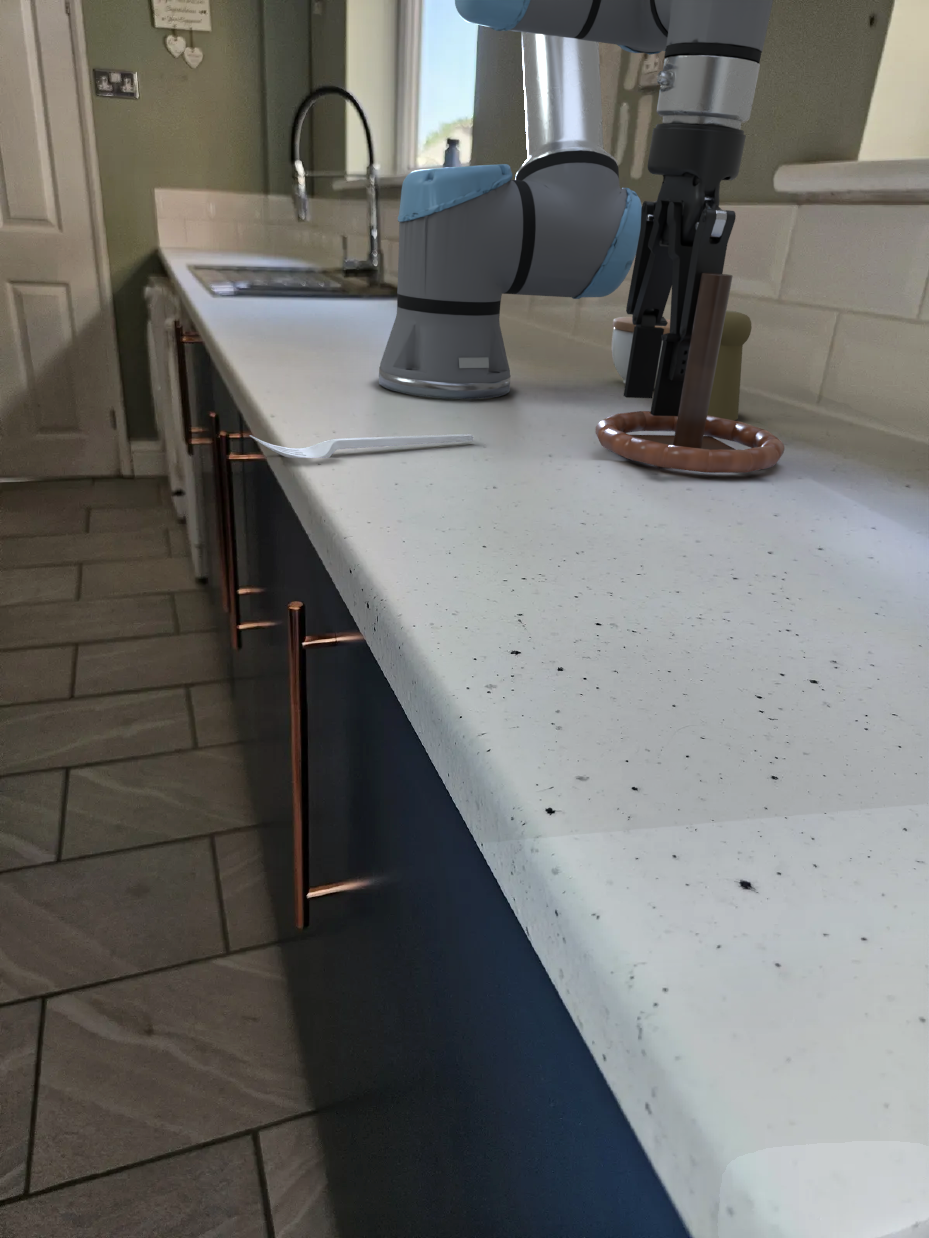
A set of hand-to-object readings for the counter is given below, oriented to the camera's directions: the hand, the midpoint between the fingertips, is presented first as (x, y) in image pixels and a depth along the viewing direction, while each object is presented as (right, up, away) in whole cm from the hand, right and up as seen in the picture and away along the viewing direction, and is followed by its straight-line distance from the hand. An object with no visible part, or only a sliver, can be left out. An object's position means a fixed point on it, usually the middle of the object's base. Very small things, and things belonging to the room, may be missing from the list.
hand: (651, 405), depth 82 cm
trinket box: (+6, +10, +31) cm, 33 cm away
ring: (+2, -5, -7) cm, 9 cm away
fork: (-25, -6, -9) cm, 28 cm away
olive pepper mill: (+10, +3, +15) cm, 18 cm away
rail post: (+2, -7, -6) cm, 9 cm away
